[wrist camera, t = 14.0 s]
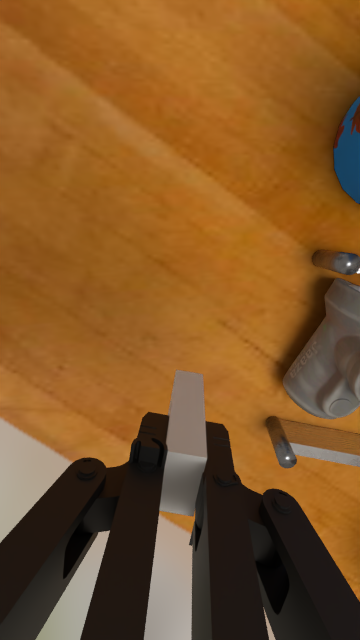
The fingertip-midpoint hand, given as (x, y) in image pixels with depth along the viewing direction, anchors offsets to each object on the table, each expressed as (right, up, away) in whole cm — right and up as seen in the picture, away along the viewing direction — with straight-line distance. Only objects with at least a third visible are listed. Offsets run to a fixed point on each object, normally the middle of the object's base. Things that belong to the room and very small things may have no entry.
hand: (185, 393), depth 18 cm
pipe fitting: (+15, +2, +14) cm, 21 cm away
